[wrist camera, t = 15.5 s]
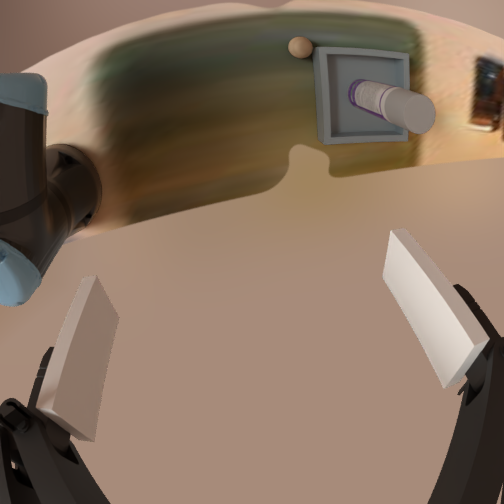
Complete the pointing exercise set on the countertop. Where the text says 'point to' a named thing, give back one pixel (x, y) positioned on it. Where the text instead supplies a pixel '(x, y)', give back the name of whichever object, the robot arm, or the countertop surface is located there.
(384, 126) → the tray
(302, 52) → the ball
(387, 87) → the container
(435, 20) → the countertop surface
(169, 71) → the countertop surface
